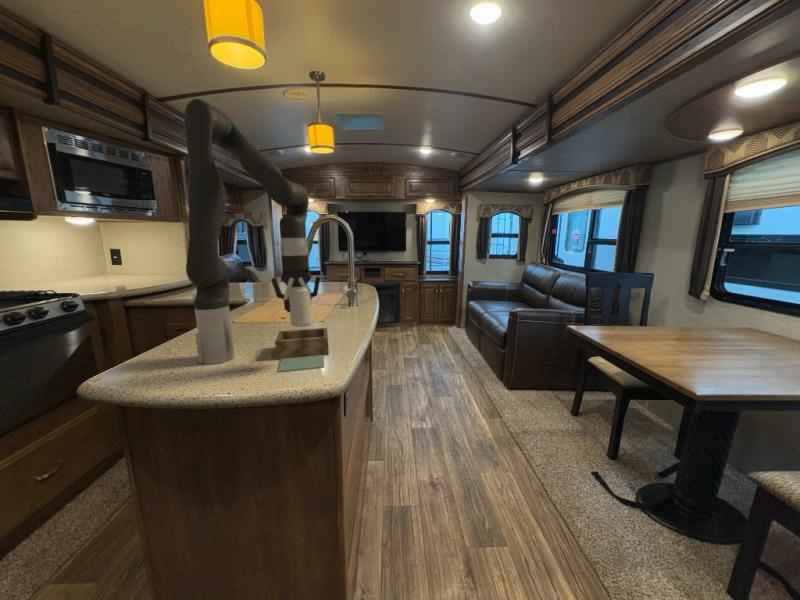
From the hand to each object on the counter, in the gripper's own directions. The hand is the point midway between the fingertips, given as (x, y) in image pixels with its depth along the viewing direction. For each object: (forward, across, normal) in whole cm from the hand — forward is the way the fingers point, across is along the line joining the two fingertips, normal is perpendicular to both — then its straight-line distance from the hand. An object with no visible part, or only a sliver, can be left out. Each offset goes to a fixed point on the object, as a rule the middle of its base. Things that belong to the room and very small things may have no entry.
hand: (298, 310), depth 92 cm
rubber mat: (+17, 0, 0) cm, 17 cm away
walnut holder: (+17, 0, +12) cm, 21 cm away
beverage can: (+5, +1, 0) cm, 5 cm away
